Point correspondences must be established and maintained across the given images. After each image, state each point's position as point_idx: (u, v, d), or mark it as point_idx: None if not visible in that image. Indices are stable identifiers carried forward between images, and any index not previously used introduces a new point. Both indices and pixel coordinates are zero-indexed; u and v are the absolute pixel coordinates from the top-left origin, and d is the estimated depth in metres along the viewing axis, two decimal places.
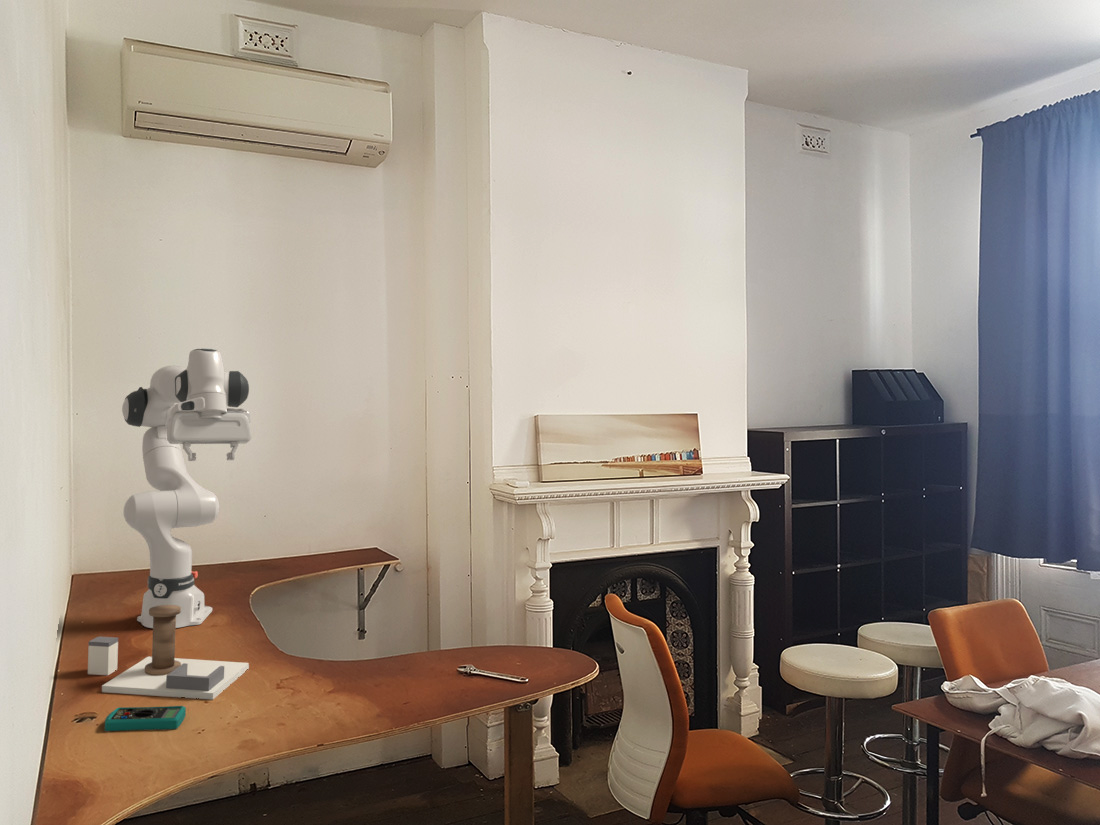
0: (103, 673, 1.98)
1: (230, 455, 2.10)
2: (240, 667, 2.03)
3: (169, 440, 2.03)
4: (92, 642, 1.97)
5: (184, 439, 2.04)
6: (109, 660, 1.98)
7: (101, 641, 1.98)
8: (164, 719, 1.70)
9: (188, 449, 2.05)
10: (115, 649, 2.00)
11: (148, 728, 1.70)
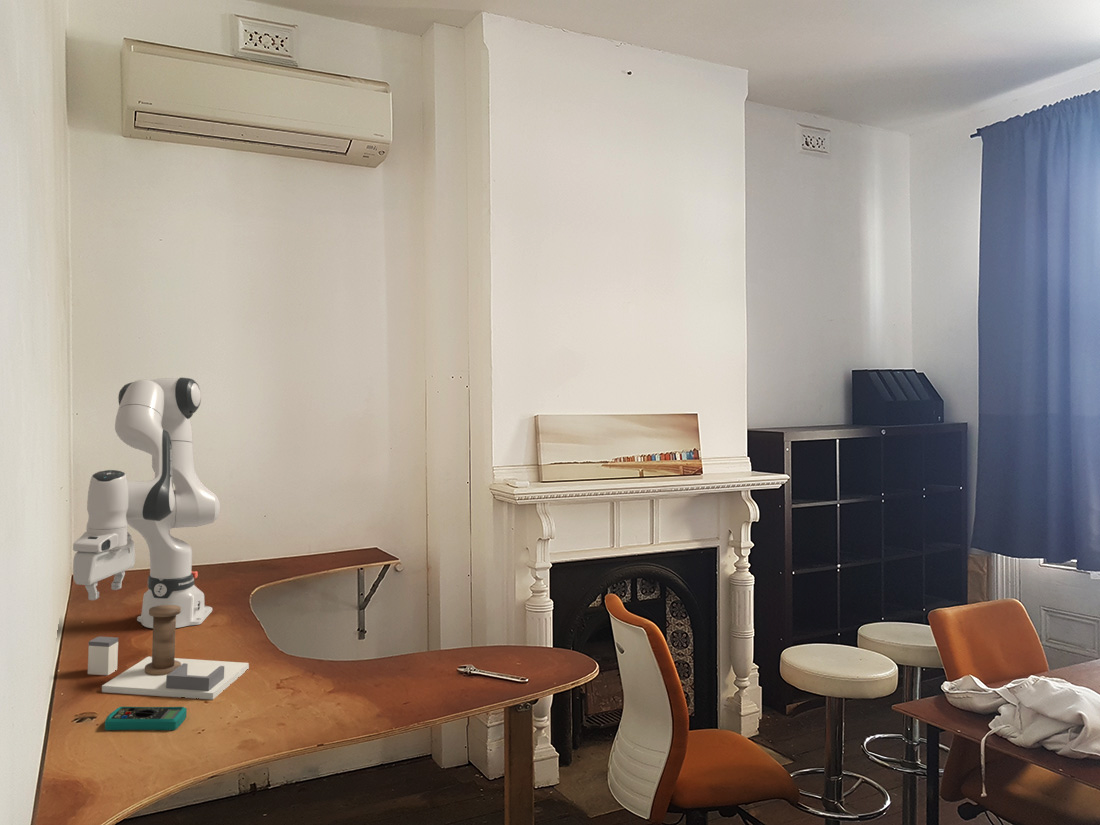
0: (103, 673, 1.98)
1: (119, 585, 2.03)
2: (240, 667, 2.03)
3: (81, 583, 1.89)
4: (92, 642, 1.97)
5: (96, 580, 1.92)
6: (109, 660, 1.98)
7: (101, 641, 1.98)
8: (163, 720, 1.70)
9: (95, 589, 1.93)
10: (115, 649, 2.00)
11: (147, 728, 1.69)
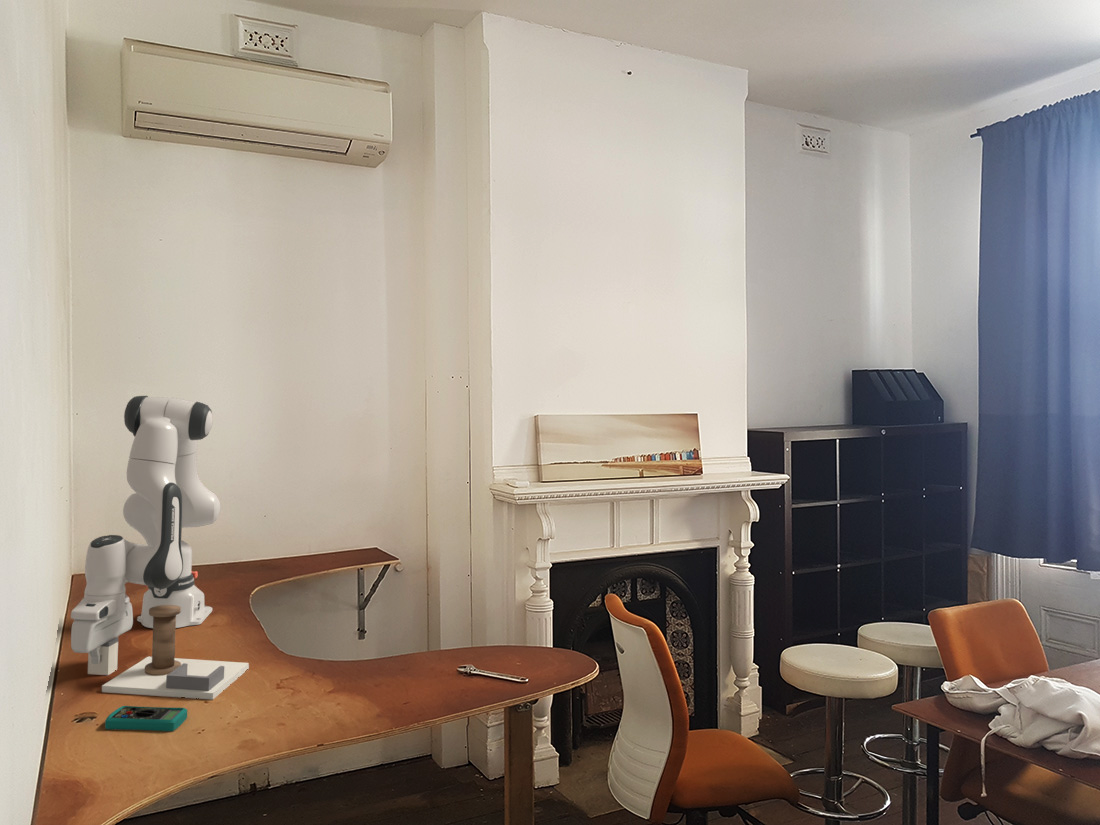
0: (103, 673, 1.98)
1: None
2: (240, 667, 2.03)
3: (79, 651, 1.89)
4: None
5: (94, 648, 1.92)
6: (109, 660, 1.98)
7: None
8: (161, 720, 1.69)
9: (98, 653, 1.96)
10: (115, 649, 2.00)
11: (146, 728, 1.69)
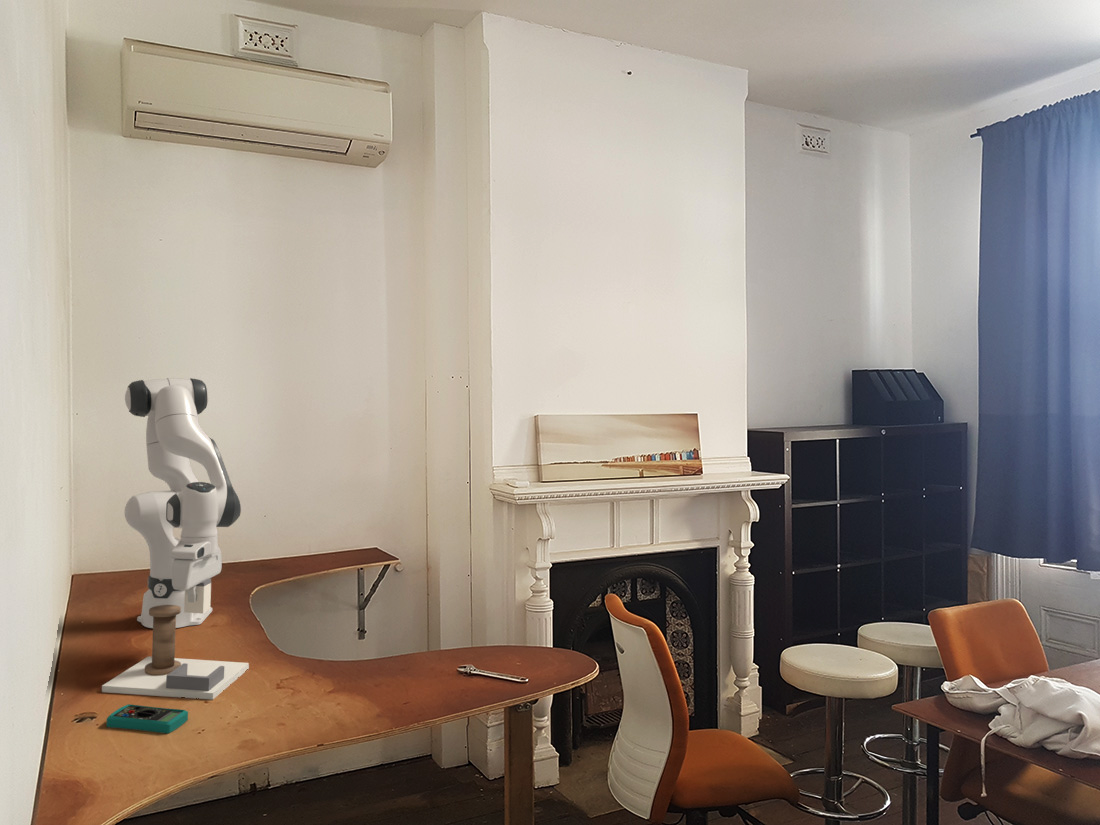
0: (198, 611, 2.09)
1: None
2: (240, 667, 2.03)
3: (179, 588, 2.01)
4: None
5: (192, 586, 2.04)
6: (204, 599, 2.10)
7: None
8: (158, 722, 1.69)
9: (194, 592, 2.07)
10: (209, 589, 2.12)
11: (144, 729, 1.69)
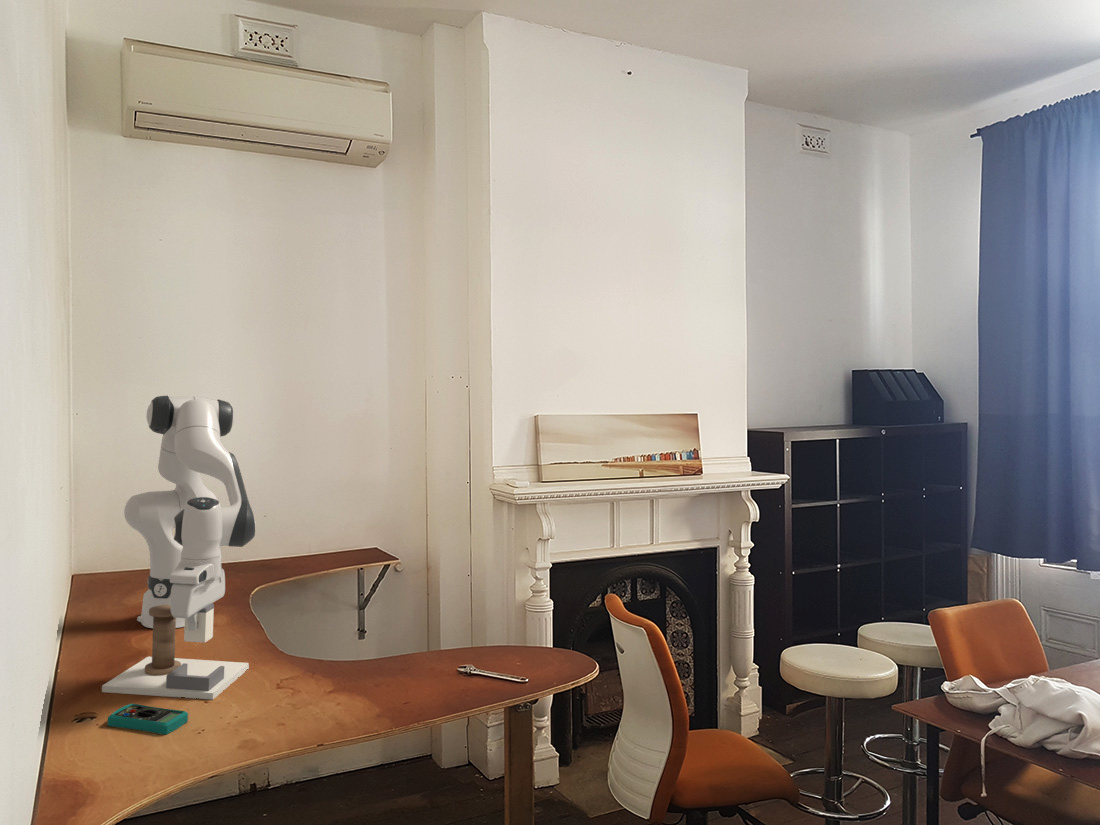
0: (200, 640, 1.90)
1: None
2: (240, 667, 2.03)
3: (179, 616, 1.81)
4: None
5: (193, 613, 1.85)
6: (206, 626, 1.90)
7: None
8: (156, 723, 1.68)
9: (195, 619, 1.88)
10: (211, 616, 1.92)
11: (142, 729, 1.69)
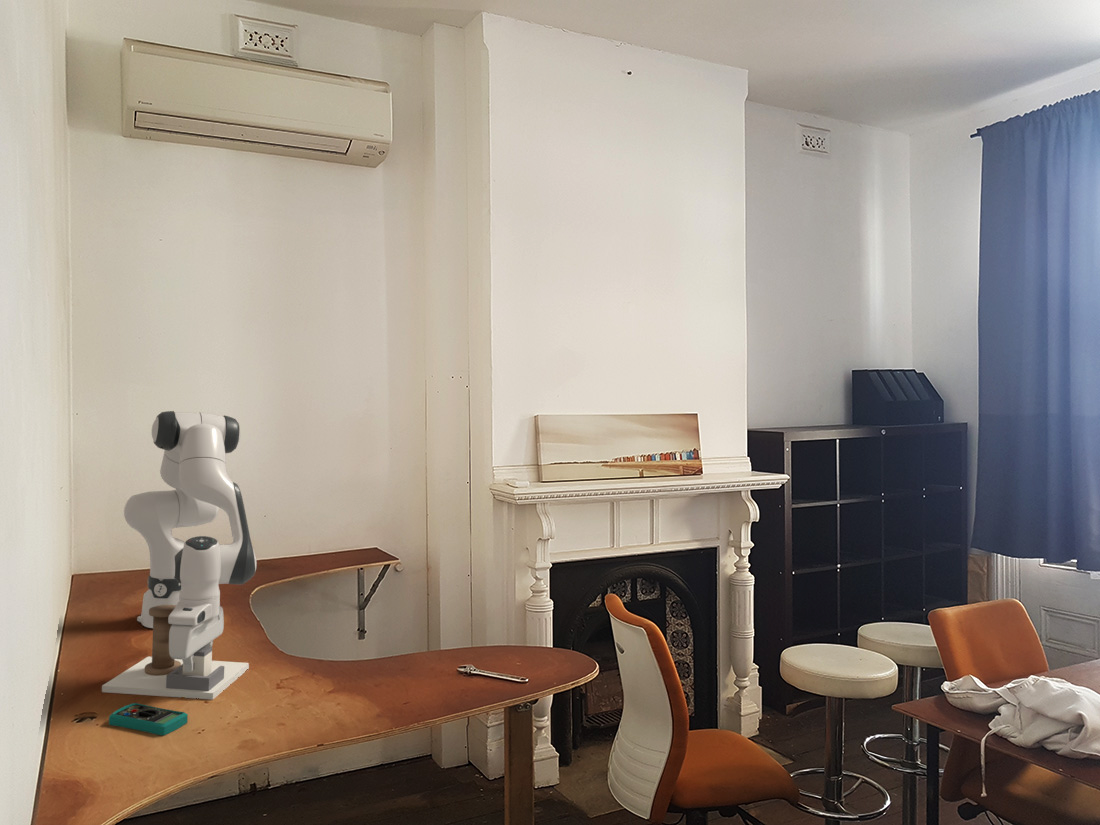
0: None
1: None
2: (240, 667, 2.03)
3: (177, 657, 1.82)
4: None
5: (191, 654, 1.85)
6: (204, 670, 1.90)
7: None
8: (154, 723, 1.68)
9: (191, 661, 1.87)
10: (209, 659, 1.93)
11: (141, 729, 1.69)
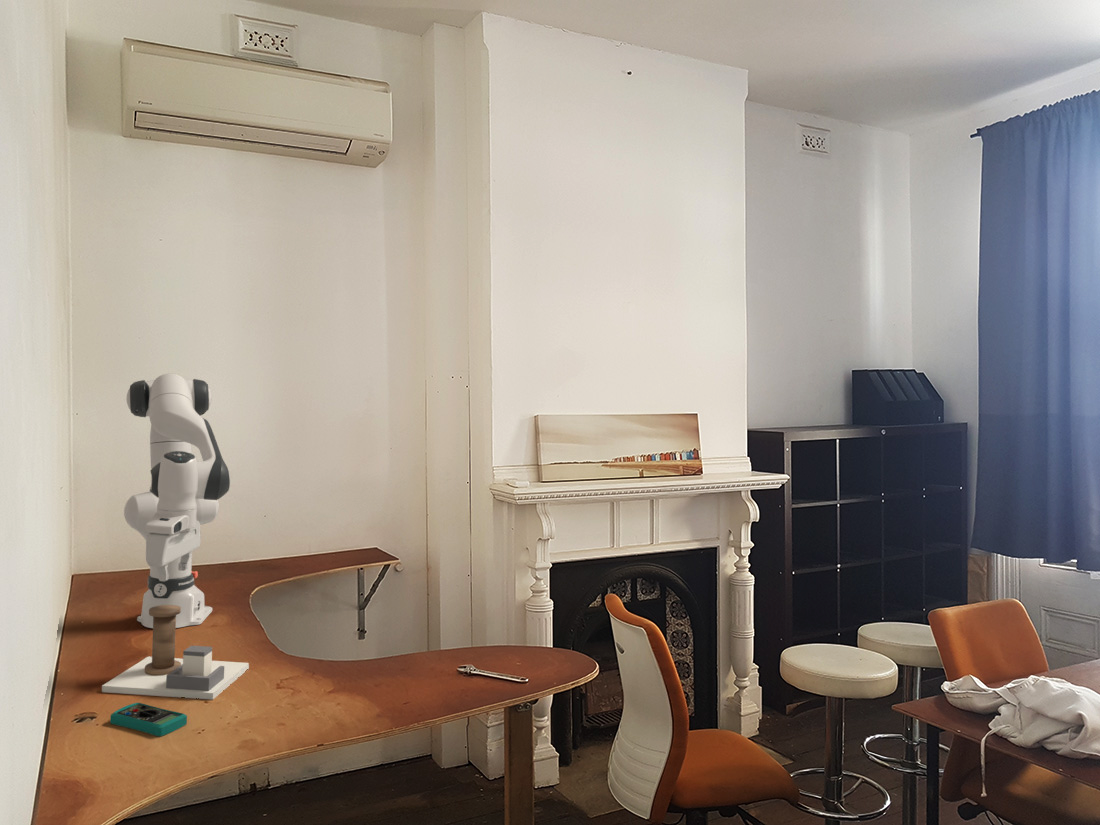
0: None
1: (186, 566, 2.03)
2: (240, 667, 2.03)
3: (154, 564, 1.89)
4: (187, 651, 1.90)
5: (167, 562, 1.92)
6: (204, 670, 1.90)
7: (196, 650, 1.90)
8: (152, 724, 1.68)
9: (166, 570, 1.93)
10: (209, 659, 1.93)
11: (140, 729, 1.69)
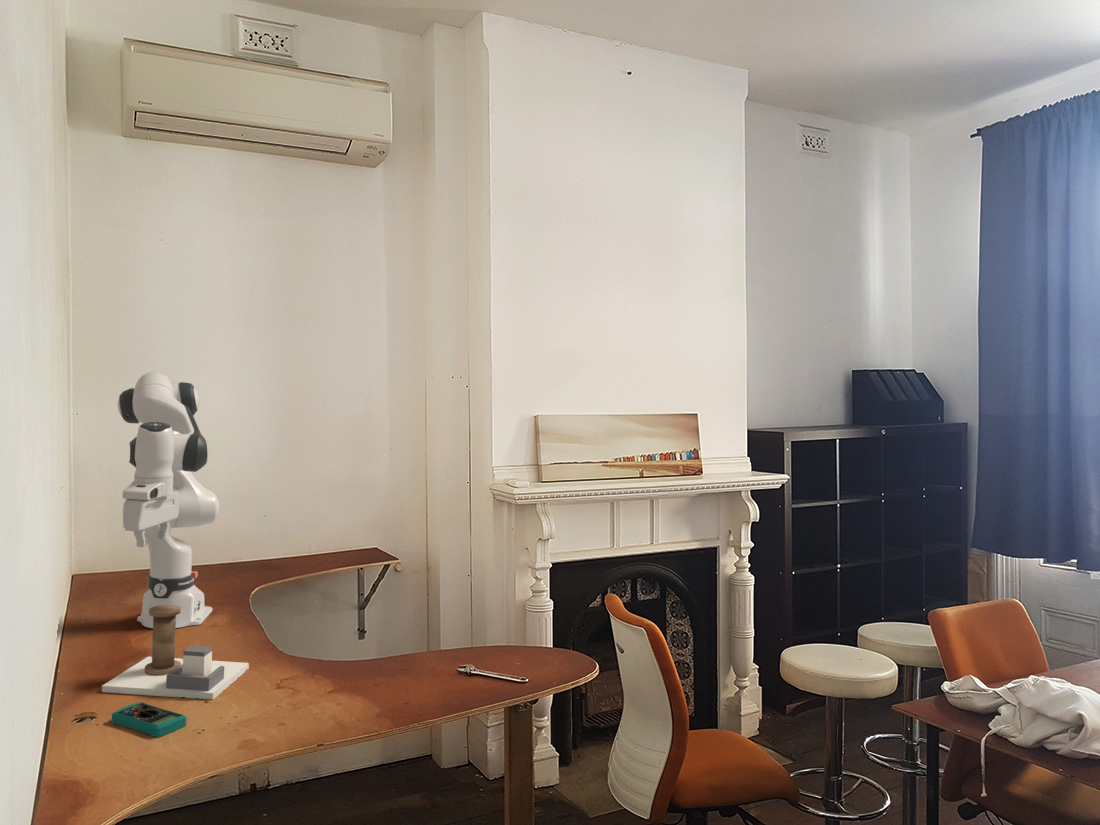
0: None
1: (164, 535, 2.08)
2: (240, 667, 2.03)
3: (131, 529, 1.94)
4: (187, 651, 1.90)
5: (144, 527, 1.97)
6: (204, 670, 1.90)
7: (196, 650, 1.90)
8: (150, 724, 1.67)
9: (143, 536, 1.98)
10: (209, 659, 1.93)
11: (139, 729, 1.69)
